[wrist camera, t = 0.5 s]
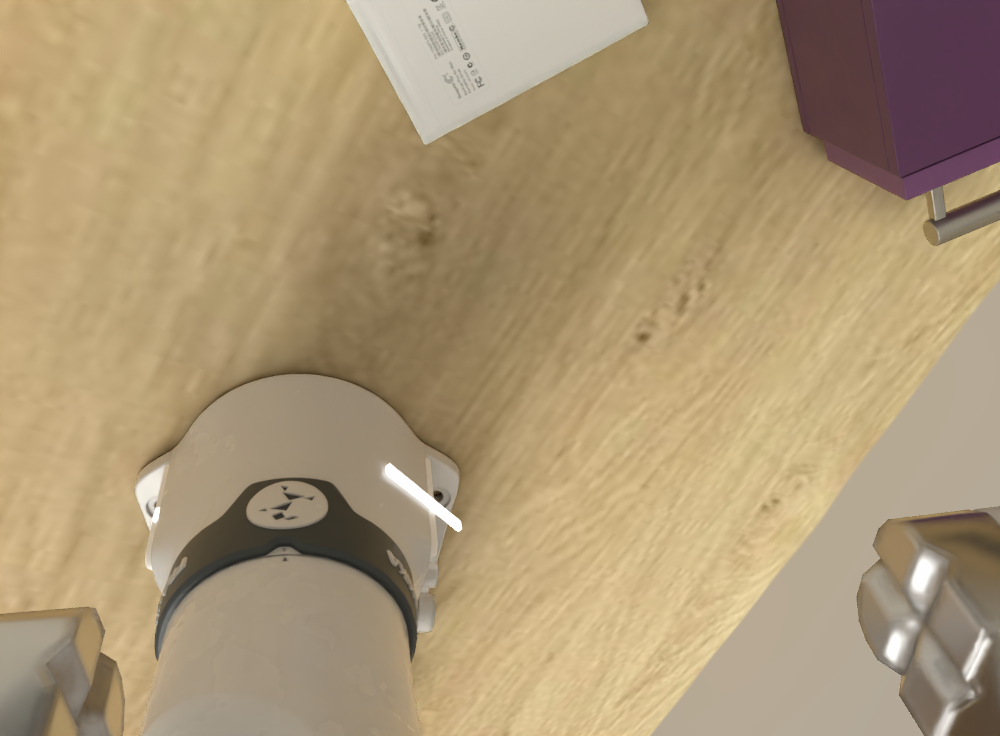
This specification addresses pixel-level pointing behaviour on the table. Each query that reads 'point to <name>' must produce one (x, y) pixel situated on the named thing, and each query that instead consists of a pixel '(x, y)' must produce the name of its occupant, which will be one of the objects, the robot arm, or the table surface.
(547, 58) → the hard drive
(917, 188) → the drawer
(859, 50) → the file cabinet
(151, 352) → the table surface
